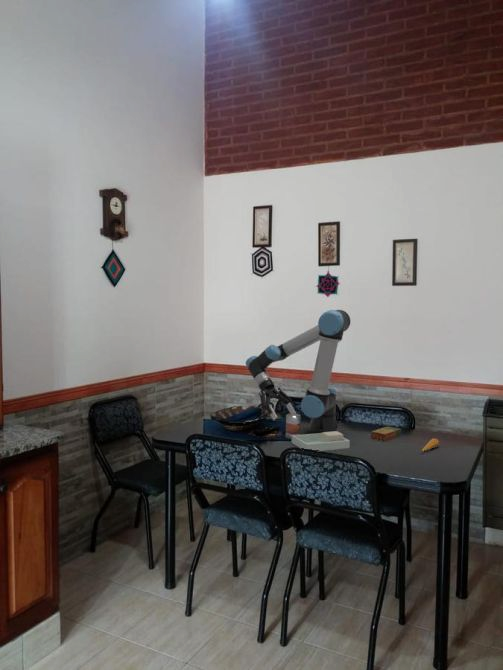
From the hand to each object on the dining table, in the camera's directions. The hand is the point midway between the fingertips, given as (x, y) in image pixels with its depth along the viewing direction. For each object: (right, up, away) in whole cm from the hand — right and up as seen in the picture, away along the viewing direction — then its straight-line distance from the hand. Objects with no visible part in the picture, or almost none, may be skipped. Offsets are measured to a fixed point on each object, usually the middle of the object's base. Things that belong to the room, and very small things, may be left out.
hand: (285, 416), depth 275 cm
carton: (+51, -12, +4) cm, 53 cm away
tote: (+15, -12, -16) cm, 25 cm away
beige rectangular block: (+21, -11, -17) cm, 29 cm away
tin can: (+4, -11, -2) cm, 12 cm away
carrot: (+65, -13, -17) cm, 69 cm away
